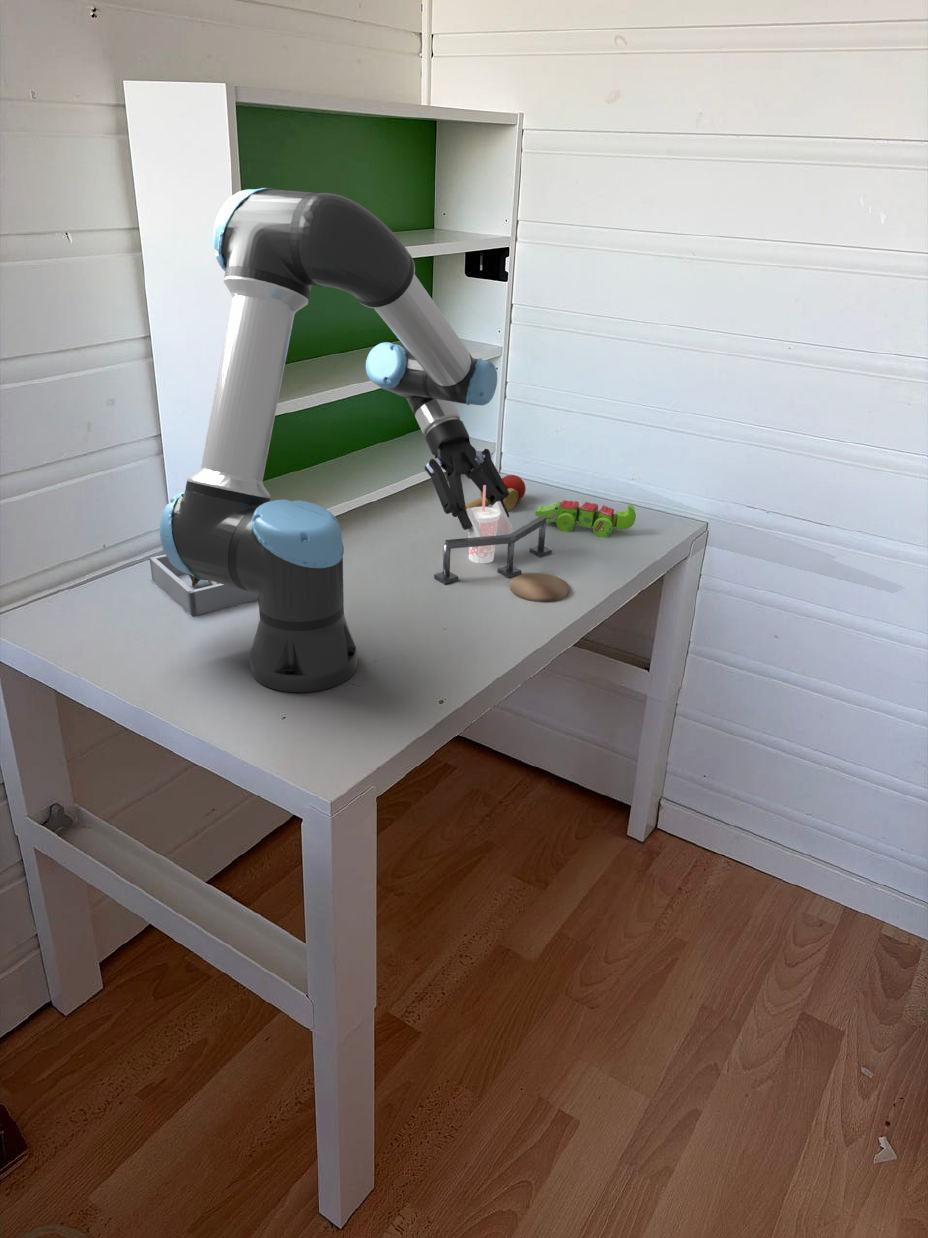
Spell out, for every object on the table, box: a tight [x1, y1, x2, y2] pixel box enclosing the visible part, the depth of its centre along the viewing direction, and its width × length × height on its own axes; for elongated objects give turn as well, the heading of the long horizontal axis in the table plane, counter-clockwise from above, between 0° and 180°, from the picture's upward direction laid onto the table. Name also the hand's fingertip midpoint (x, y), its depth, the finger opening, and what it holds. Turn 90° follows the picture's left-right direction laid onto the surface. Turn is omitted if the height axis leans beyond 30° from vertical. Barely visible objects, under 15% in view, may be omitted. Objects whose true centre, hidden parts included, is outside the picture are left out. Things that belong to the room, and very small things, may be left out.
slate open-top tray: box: [149, 554, 258, 617], centre depth 156 cm, size 14×17×4 cm
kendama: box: [465, 474, 527, 512], centre depth 195 cm, size 8×6×18 cm
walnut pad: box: [509, 572, 570, 603], centre depth 161 cm, size 10×10×1 cm
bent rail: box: [433, 516, 553, 585], centre depth 167 cm, size 25×7×7 cm, turn 128°
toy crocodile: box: [535, 500, 637, 538], centre depth 187 cm, size 20×7×6 cm, turn 73°
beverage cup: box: [467, 485, 500, 564], centre depth 169 cm, size 6×6×14 cm
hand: (494, 539), depth 168 cm, fingers closed on beverage cup, 6 cm apart
